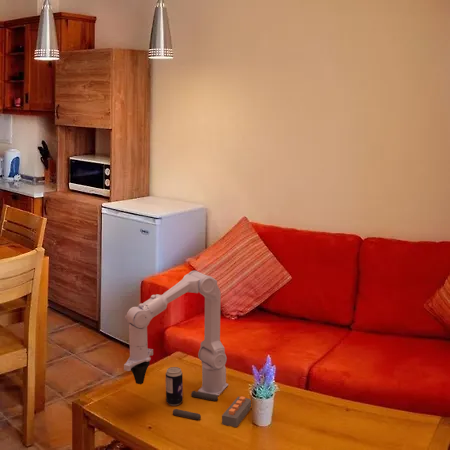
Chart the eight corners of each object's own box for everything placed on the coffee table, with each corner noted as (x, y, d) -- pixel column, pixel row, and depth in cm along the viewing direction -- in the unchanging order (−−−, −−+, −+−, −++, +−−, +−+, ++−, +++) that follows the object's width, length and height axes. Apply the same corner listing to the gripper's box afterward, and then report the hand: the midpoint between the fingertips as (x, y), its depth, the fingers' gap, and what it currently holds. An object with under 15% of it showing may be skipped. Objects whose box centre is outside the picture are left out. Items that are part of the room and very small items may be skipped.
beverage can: (180, 407, 206) (179, 374, 204) (164, 406, 208) (163, 372, 205) (184, 399, 212) (184, 367, 210) (168, 398, 213) (168, 365, 211)
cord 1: (174, 413, 203) (174, 407, 203) (201, 418, 199) (201, 413, 199) (171, 415, 201) (171, 410, 201) (199, 421, 198) (199, 415, 197)
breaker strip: (237, 404, 208) (238, 393, 208) (251, 407, 206) (251, 395, 206) (221, 424, 196) (221, 412, 195) (236, 427, 194) (236, 415, 193)
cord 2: (192, 394, 216) (192, 389, 215) (218, 400, 212) (218, 394, 212) (190, 397, 214) (190, 392, 214) (216, 402, 210) (216, 397, 210)
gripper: (136, 354, 190) (138, 394, 193) (160, 338, 203) (161, 376, 206) (117, 350, 193) (119, 390, 196) (142, 334, 206) (143, 372, 209)
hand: (139, 383), depth 201 cm, fingers closed
